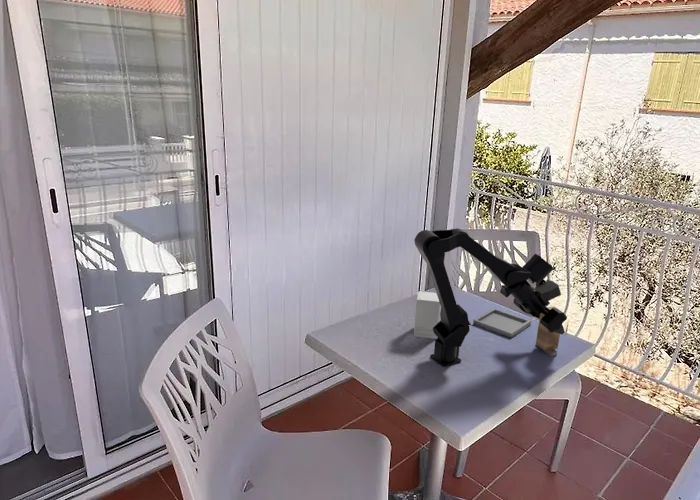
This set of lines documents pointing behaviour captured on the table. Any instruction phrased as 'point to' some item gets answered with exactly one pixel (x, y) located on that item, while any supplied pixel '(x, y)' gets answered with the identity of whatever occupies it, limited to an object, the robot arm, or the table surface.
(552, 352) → the tan slab
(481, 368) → the table surface
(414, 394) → the table surface
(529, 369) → the table surface
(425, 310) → the supplement box
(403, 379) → the table surface
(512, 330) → the box
